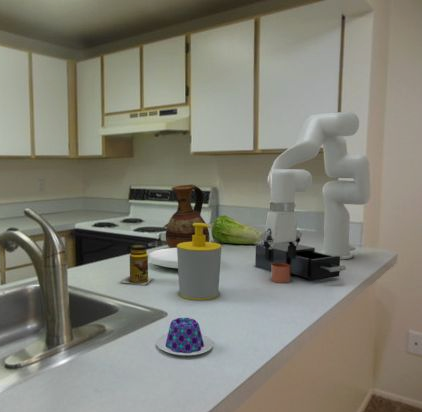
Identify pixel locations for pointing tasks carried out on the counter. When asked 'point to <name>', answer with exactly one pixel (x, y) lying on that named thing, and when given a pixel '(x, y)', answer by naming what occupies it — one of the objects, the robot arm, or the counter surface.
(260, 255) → the dark gray drawer box
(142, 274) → the condiment
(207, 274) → the soap bottle
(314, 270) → the drawer
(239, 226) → the lettuce
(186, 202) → the ceramic pitcher
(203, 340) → the pudding
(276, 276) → the cup
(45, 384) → the counter surface
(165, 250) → the plate
